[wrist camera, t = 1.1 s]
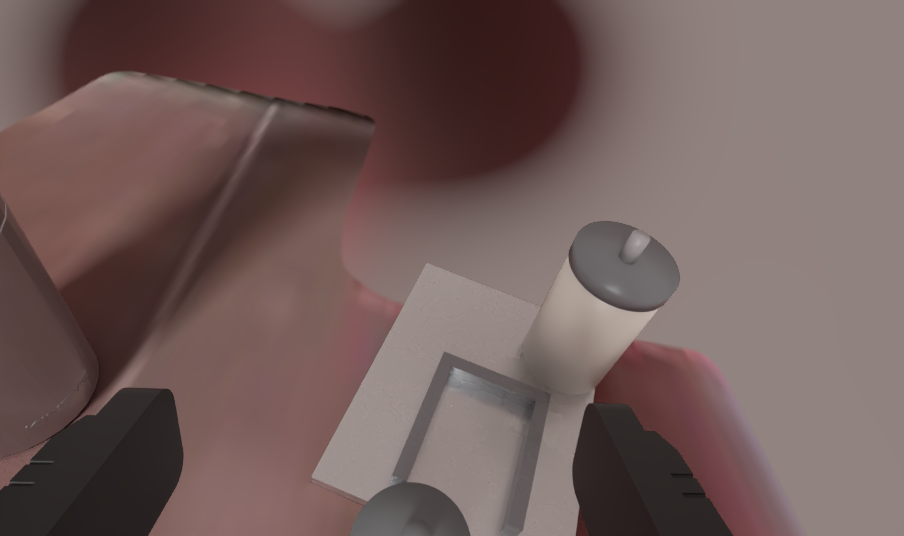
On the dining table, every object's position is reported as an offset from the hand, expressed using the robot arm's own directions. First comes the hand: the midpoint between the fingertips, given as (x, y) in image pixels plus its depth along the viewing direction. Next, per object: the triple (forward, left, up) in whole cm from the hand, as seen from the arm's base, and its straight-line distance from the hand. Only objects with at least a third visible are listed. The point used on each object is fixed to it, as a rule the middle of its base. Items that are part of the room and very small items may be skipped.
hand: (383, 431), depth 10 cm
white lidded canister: (+9, +23, -23) cm, 34 cm away
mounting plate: (+3, +17, -24) cm, 30 cm away
